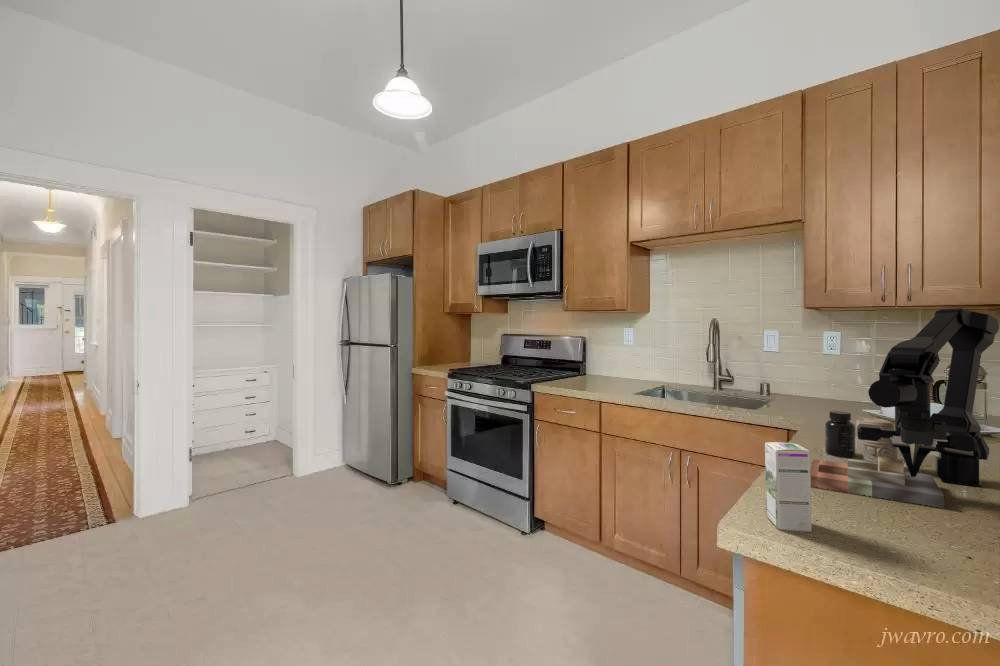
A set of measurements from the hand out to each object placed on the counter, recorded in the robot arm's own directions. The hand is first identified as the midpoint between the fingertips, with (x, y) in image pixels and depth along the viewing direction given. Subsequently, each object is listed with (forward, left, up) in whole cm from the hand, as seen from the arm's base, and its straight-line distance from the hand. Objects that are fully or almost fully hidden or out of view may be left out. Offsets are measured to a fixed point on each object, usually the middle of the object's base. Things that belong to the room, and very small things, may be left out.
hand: (913, 476), depth 98 cm
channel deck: (+7, 0, -4) cm, 8 cm away
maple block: (+4, 0, -1) cm, 4 cm away
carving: (+5, -20, -4) cm, 21 cm away
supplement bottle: (+13, -28, -4) cm, 31 cm away
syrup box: (+20, +34, -4) cm, 40 cm away
